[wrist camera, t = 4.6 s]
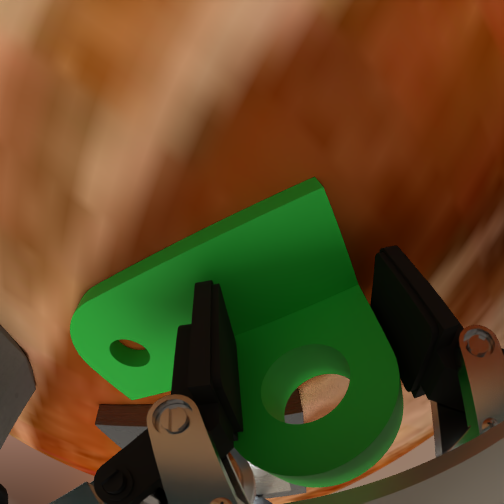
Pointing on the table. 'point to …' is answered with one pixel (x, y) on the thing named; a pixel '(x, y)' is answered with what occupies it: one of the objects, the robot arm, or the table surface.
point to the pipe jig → (251, 477)
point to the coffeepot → (12, 388)
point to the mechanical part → (261, 333)
